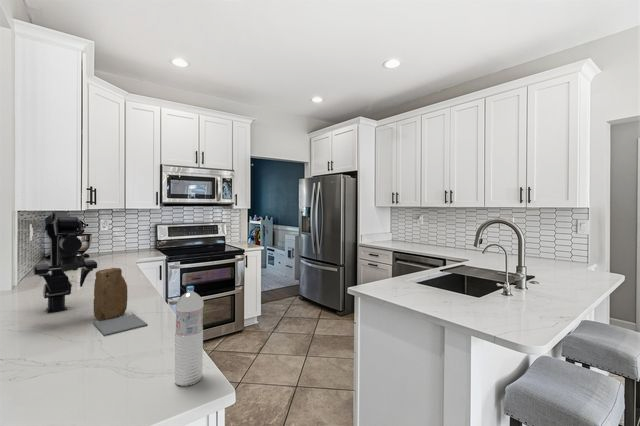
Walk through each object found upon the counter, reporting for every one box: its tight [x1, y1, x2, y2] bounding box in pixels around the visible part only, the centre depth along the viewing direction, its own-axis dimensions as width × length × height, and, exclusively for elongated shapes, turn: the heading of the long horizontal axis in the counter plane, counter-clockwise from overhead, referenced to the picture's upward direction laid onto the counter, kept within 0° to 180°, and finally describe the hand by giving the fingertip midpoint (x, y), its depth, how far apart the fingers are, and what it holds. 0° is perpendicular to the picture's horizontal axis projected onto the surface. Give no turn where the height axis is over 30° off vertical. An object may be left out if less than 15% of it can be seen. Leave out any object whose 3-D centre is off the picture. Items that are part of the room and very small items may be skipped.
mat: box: [92, 313, 148, 337], centre depth 117 cm, size 16×14×1 cm
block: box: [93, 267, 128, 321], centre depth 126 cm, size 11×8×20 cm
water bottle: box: [174, 285, 205, 387], centre depth 81 cm, size 7×7×25 cm
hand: (66, 288), depth 118 cm, fingers open, 9 cm apart
